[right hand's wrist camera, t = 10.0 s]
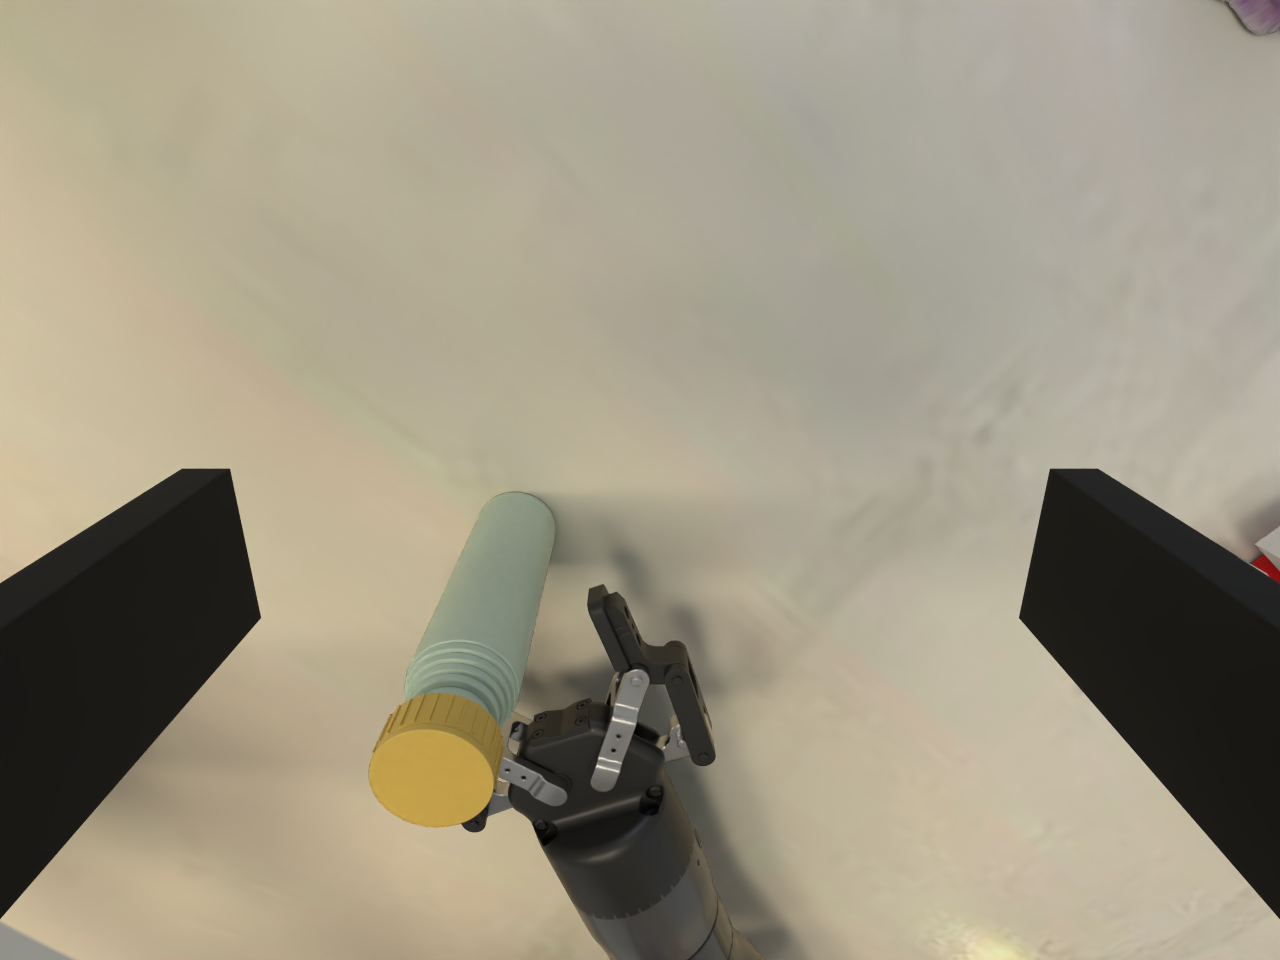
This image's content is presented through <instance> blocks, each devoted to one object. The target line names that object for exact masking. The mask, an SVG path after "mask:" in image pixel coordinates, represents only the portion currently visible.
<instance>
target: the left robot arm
mask: <svg viewBox="0 0 1280 960" xmlns="http://www.w3.org/2000/svg"><path fill="white" fill-rule="evenodd" d="M587 606H588V611H589V614H590V617H591V619H592V621H593V624H594V626H595V628H596V630H597V632H598V634H599V637H600V639H601V641H602V643H603V645H604V647H605V650H606V652H607V654H608V656H609V658H610V660H611V663H612V665H613V667H614V669H615V671H616V672H617V673H616V674H614V677H613V679H612V682H611V685H610V688H609V691H608V694H607V697H606V700H605V702H604V703H600V702H592V701H591V699H590V698H588V699H585V700H582V701H578V702H576V703H574V704H572V705H571V706H569V707H567V708H566V709H564V710H554V711H546V712H543V713H540V714H537V715H534V720H533V721H532V720H530V719H528V718H526V717H524V716H522V715H520V714H518V713H516V712H514V711H513V713H512V715H511V716H510V718H509V719H508V721H507V722H506V723H505V724H504V725H503V726H502V727H501V729H500V731H501V735H502V736H503V737H504V739H503V747H504V753H503V758H502V762H501V766H500V771H499V775H498V777H500V778H502V779H504V780H506V781H508V782H500V781H498V780H497V784H496V788H495V789H493V794H492V796H491V799H490V801H489V802H488V804H487V805H486V807H485V808H484V809H483V810H482V811H481V812H480V813H479V814H478V815H476V816H475V817H473V818H472V819H470V820H468V821H466V822H463V823H461V824H462V826H463V827H464V828H465V829H466V830H467V831H470V832H479V831H482V830H483V829H484V828H485V825H486V821H487V817H488V816H490V815H493V814H496V813H498V812H501V811H504V810H507V809H510V808H514V809H515V810H517V811H518V812H520V813H521V814H523V815H524V816H526V817H527V818H528V819H529V820H530V821H531V823H532V825H533V827H534V830H535V833H536V835H537V838H538V840H539V843H540V845H541V847H542V849H543V851H544V853H545V854H546V856H547V858H548V860H549V861H550V863H551V865H552V867H553V869H554V870H555V872H556V874H557V876H558V877H559V879H560V881H561V883H562V885H563V886H564V888H565V890H566V892H567V893H568V895H569V897H570V899H571V901H572V902H573V904H574V906H575V908H576V909H577V911H578V913H579V915H580V917H581V918H582V920H583V922H584V924H585V925H586V927H587V929H588V930H589V932H590V933H591V935H592V936H593V938H594V939H595V940H596V942H597V943H598V944H599V945H600V946H601V947H602V948H603V950H604V951H605V952H606V953H607V955H608V957H609V959H610V960H766V959H765V958H764V957H763V956H762V955H761V954H760V953H759V952H758V951H757V950H756V949H755V948H754V947H753V945H752V944H751V943H750V942H749V941H748V940H747V939H746V938H745V937H744V936H742V935H741V934H740V933H739V932H738V931H737V930H736V929H735V928H734V927H733V926H732V924H731V922H730V919H729V917H728V915H727V912H726V910H725V908H724V906H723V904H722V902H721V899H720V897H719V895H718V893H717V891H716V889H715V887H714V884H713V881H712V878H711V873H710V869H709V866H708V862H707V860H706V857H705V855H704V852H703V850H702V847H701V841H700V838H699V836H698V834H697V832H696V830H695V829H694V828H693V826H692V825H691V823H690V821H689V819H688V817H687V815H686V812H685V810H684V808H683V806H682V804H681V801H680V799H679V797H678V795H677V793H676V790H675V788H674V786H673V784H672V782H671V779H670V777H669V775H668V773H667V771H666V769H665V767H664V765H665V762H668V761H672V760H676V759H681V758H685V757H689V756H691V759H692V761H693V762H694V763H695V764H696V765H699V766H707V765H710V764H711V763H712V762H713V761H714V760H715V748H714V741H713V734H712V726H711V721H710V718H709V715H708V712H707V709H706V706H705V703H704V700H703V697H702V694H701V691H700V688H699V685H698V682H697V679H696V676H695V673H694V670H693V667H692V664H691V661H690V658H689V655H688V652H687V649H686V646H685V645H684V644H683V643H682V642H680V641H670V642H668V643H667V644H665V646H650V645H648V644H646V643H645V642H644V641H643V640H642V638H641V636H640V634H639V631H638V629H637V627H636V624H635V622H634V620H633V618H632V616H631V613H630V611H629V609H628V606H627V604H626V602H625V599H624V598H623V597H622V596H621V595H620V594H619V593H618V592H614V593H611V594H609V593H608V591H607V589H606V587H605V585H604V584H602V585H599V586H596V587H593V588H590V589H589V594H588V603H587ZM649 684H665V685H666V688H667V691H668V694H669V696H670V699H671V702H672V705H673V708H674V711H675V714H674V715H673V716H671V718H670V719H669V730H668V732H667V733H666V734H665V735H663V736H660V734H659V733H658V732H657V731H655V730H654V729H652V728H650V727H648V726H646V725H644V724H643V723H641V722H639V721H637V719H638V713H639V709H640V706H641V704H642V701H643V698H644V695H645V693H646V690H647V687H648V685H649ZM509 737H510V738H512V739H514V740H516V741H518V742H520V745H519V748H518V752H517V755H515V754H513V753H512V752H511V751H510V750H509V748H508V741H509Z"/></svg>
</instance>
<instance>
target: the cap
mask: <svg viewBox="0 0 1280 960" xmlns="http://www.w3.org/2000/svg"><path fill="white" fill-rule="evenodd" d="M499 727H500V726H499V724H497V723H496V721H495V720H494V718H493V717H492V715H491V714H489V713H488V712H487V711H486V710H485V709H484V708H483V707H482V706H481V705H479V704H477V703H476V702H474V701H472V700H469V699H468V698H464V697H461V696H458V695H455V694H447V693H430V694H423V695H421V696H418V697H415V698H413V699H412V698H410V699H409V700H408V701H407V702H405V703H404V704H403V705H399V706H398V708H397V710H396V711H395V712H394V713H393V714H390V716H389V718H388V720H387V722H386V724H385V726H384V728H383V730H382V732H381V735H380V737H379V739H378V741H377V743H376V746H375V748H374V750H373V752H372V754H373V756H372V759H371V762H370V765H369V781H370V786H371V788H372V791H373V793H374V795H375V796H376V798H377V799H378V801H379V802H380V803H381V804H382V805H383V806H384V807H385V808H386V809H387V810H388V811H390V812H391V813H392V814H394V815H395V816H397V817H399V818H401V819H403V820H405V821H407V822H410V823H413V824H417V825H421V826H427V827H447V826H453V825H457V824H460V823H463V822H466V821H468V820H470V819H472V818H473V817H475V816H476V815H478V814H479V813H480V812H481V811H482V810H483V809H484V808H485V807H486V805H487V804H488V802H489V801H490V799H491V796H492V794H493V789H495V788H496V784H497V779H498V775H499V771H500V766H501V762H502V758H503V753H504V747H503V739H504V737H503V736H502V735H501V731H500V729H499Z"/></svg>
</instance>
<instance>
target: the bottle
mask: <svg viewBox="0 0 1280 960" xmlns="http://www.w3.org/2000/svg"><path fill="white" fill-rule="evenodd" d="M555 535H556V525H555V520H554V518H553V515H552V513H551V512H550V510H549V509H548V507H547V506H546V505H545V504H544V503H543V502H541V501H540V500H539V499H537V498H535V497H533V496H531V495H528V494H525V493H519V492H510V493H504V494H501V495H498V496H496V497H494V498H493V499H491V500H490V501H489V502H487V504H486V505H485V506H484V507H483V509H482V510H481V512H480V514H479V516H478V519H477V521H476V523H475V525H474V527H473V529H472V532H471V534H470V536H469V538H468V540H467V542H466V545H465V547H464V549H463V551H462V553H461V555H460V557H459V560H458V562H457V564H456V566H455V568H454V570H453V573H452V575H451V577H450V579H449V581H448V583H447V586H446V588H445V590H444V592H443V594H442V596H441V599H440V601H439V603H438V605H437V607H436V609H435V612H434V614H433V616H432V618H431V620H430V622H429V625H428V627H427V629H426V631H425V633H424V635H423V638H422V640H421V642H420V644H419V646H418V648H417V650H416V653H415V655H414V657H413V659H412V661H411V663H410V666H409V668H408V671H407V675H406V681H405V687H404V689H405V701H406V702H407V701H408V700H409V699H410V698H412V699H413V698H415V697H418V696H421V695H423V694H430V693H447V694H455V695H458V696H461V697H464V698H468V699H469V700H472V701H474V702H476V703H477V704H479V705H481V706H482V707H483V708H484V709H485V710H486V711H487V712H488V713H489V714H491V715H492V717H493V718H494V720H495V721H496V723H497V724H499V726H500V727H499V729H501V727H502V726H503V725H504V724H505V723H506V722H507V721H508V719H509V718H510V716H511V715H512V713H513V710H514V709H515V707H516V705H517V702H518V699H519V694H520V690H521V685H522V681H523V676H524V672H525V668H526V663H527V659H528V654H529V650H530V645H531V641H532V637H533V632H534V628H535V623H536V619H537V614H538V610H539V606H540V601H541V597H542V592H543V588H544V583H545V579H546V575H547V570H548V566H549V561H550V557H551V552H552V548H553V544H554V539H555Z"/></svg>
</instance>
